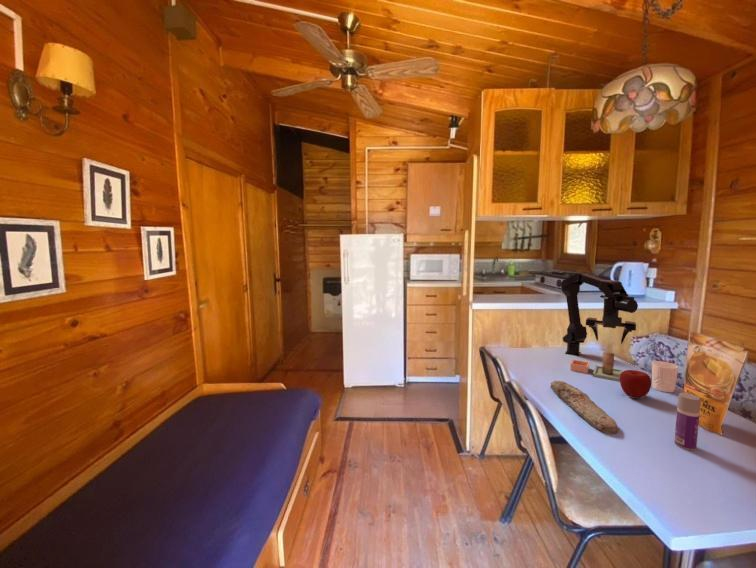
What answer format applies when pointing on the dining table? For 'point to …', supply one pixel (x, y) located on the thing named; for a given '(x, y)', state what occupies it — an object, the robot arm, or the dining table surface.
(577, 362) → the holder
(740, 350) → the pancake mix bag
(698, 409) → the container
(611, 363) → the dowel
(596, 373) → the tray
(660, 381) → the pink cylinder
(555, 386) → the french baguette
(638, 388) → the apple
